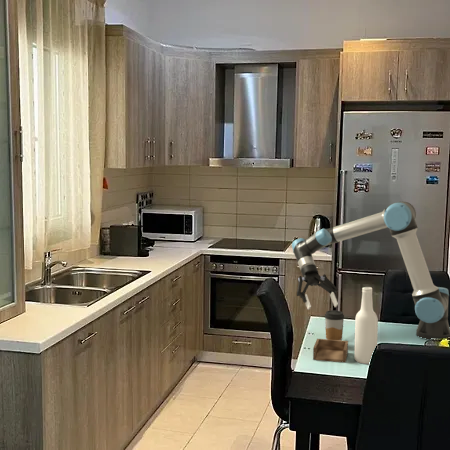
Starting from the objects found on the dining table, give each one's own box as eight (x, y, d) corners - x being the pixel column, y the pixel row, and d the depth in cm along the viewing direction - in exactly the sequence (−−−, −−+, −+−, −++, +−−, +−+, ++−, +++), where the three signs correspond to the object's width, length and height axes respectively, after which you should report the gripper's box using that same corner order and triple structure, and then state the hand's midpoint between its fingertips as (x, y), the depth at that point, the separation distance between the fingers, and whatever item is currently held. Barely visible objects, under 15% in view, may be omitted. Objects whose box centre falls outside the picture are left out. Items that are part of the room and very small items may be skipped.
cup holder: (347, 352, 250) (348, 341, 249) (345, 362, 237) (345, 350, 237) (316, 349, 253) (317, 338, 253) (313, 359, 241) (313, 347, 240)
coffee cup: (344, 344, 261) (345, 310, 260) (342, 349, 253) (342, 315, 252) (325, 342, 264) (326, 309, 262) (322, 347, 256) (323, 313, 254)
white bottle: (378, 359, 241) (380, 286, 238) (374, 365, 234) (376, 291, 230) (357, 356, 245) (359, 284, 242) (352, 362, 237) (353, 289, 234)
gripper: (328, 271, 285) (344, 308, 273) (281, 274, 277) (295, 313, 264) (334, 262, 279) (350, 300, 267) (286, 264, 271) (300, 304, 259)
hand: (323, 306), depth 266 cm, fingers open, 13 cm apart
